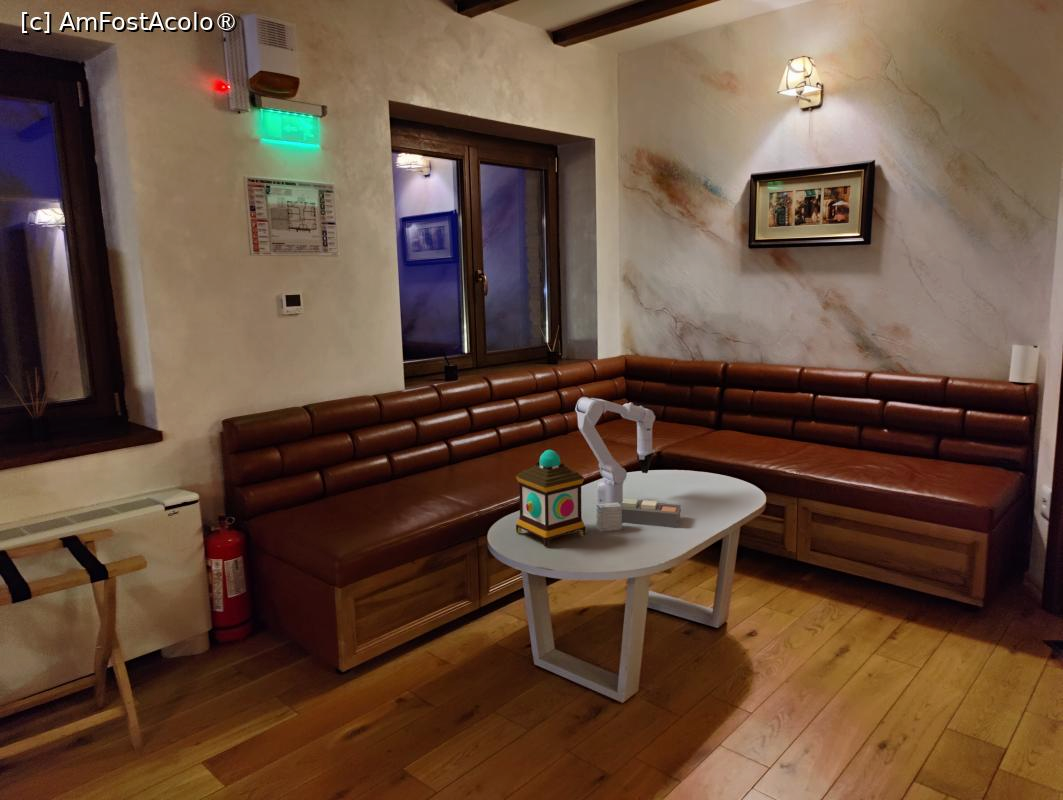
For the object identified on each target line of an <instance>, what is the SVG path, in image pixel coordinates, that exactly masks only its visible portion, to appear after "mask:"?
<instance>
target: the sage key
mask: <svg viewBox="0 0 1063 800" xmlns="http://www.w3.org/2000/svg"><path fill="white" fill-rule="evenodd" d="M638 501H639V499H635V498H623V501H622V507H625V508H637V506H638Z"/></svg>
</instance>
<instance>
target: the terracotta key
mask: <svg viewBox="0 0 1063 800" xmlns="http://www.w3.org/2000/svg"><path fill="white" fill-rule="evenodd" d="M661 511H672V512H676V511H677V507H667V506H663V507H662V509H661Z"/></svg>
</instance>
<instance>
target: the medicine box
mask: <svg viewBox="0 0 1063 800" xmlns="http://www.w3.org/2000/svg"><path fill="white" fill-rule="evenodd" d="M622 526H623V525H622V506H621V505H620V504H619V503H605V504H598V503H597V504H596V528H597V529H598V531H599V532H607V531H617V530H623V527H622Z"/></svg>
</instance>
